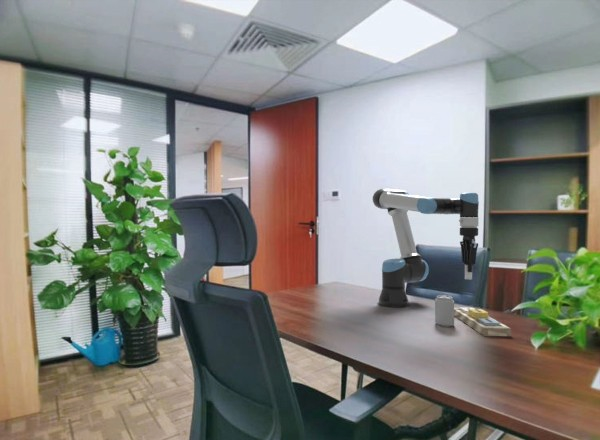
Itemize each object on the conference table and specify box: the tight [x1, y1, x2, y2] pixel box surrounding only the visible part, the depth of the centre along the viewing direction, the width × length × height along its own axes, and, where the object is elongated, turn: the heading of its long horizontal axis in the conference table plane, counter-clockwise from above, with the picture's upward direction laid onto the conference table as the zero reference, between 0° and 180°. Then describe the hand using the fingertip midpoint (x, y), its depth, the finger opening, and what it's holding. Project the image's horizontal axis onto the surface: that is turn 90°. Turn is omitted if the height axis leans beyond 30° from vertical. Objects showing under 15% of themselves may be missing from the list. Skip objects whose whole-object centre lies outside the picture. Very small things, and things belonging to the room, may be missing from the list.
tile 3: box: [478, 318, 501, 326], centre depth 135 cm, size 6×6×3 cm
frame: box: [454, 307, 512, 337], centre depth 143 cm, size 30×10×3 cm, turn 178°
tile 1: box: [459, 307, 474, 314], centre depth 152 cm, size 6×6×3 cm
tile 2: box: [468, 308, 489, 319], centre depth 143 cm, size 6×6×3 cm
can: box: [434, 294, 455, 328], centre depth 142 cm, size 8×8×12 cm
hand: (468, 278), depth 152 cm, fingers closed
